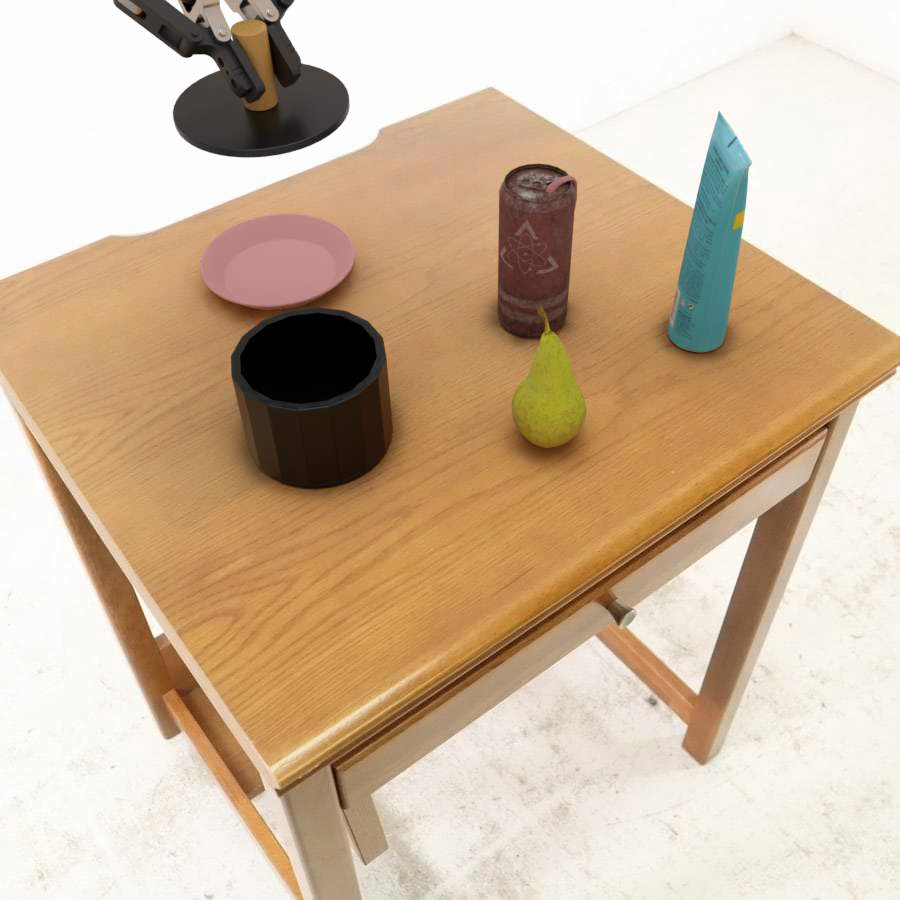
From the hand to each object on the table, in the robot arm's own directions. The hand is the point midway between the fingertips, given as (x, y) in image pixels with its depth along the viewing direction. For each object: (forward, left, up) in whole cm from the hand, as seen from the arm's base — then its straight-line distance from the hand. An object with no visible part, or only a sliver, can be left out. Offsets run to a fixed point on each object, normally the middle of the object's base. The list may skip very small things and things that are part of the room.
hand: (275, 88), depth 73 cm
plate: (+8, +11, -25) cm, 29 cm away
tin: (-6, -6, -25) cm, 27 cm away
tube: (+22, -25, -25) cm, 42 cm away
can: (+16, -12, -25) cm, 32 cm away
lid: (0, +2, -2) cm, 3 cm away
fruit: (+4, -21, -25) cm, 33 cm away
